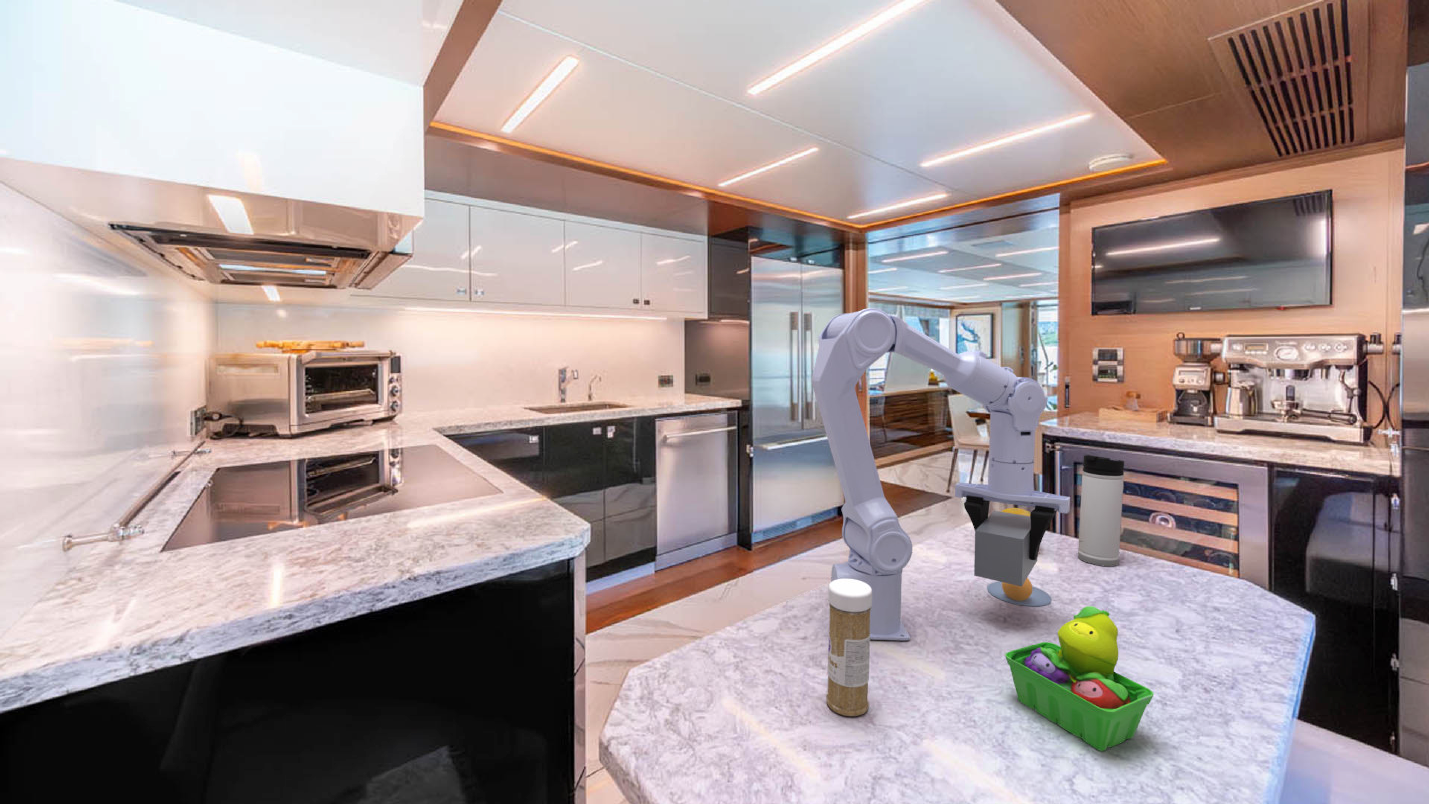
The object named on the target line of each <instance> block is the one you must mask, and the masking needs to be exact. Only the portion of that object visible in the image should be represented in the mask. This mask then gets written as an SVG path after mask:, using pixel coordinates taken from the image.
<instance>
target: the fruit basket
mask: <svg viewBox="0 0 1429 804" xmlns="http://www.w3.org/2000/svg"><path fill="white" fill-rule="evenodd" d="M1110 615H1111V614H1110V612H1108V611H1107V610H1104V609H1103V610H1101V609H1099V608H1098V607H1096V606H1092V605H1087V606H1085V607H1083V608H1082V609H1080V611H1079V612H1078V613H1077V614H1074V615H1073V619H1072V620H1069V621H1067V622H1065V623H1064V624H1063V625H1061V627H1059V629H1058V630H1057V637H1058V641H1059V644H1055V643H1053V642H1049V641H1042V642H1039V643H1035V644H1031V645H1027V646H1023V647H1020V648H1017V649H1013V650H1010V651H1008V652H1005V654H1004V657H1005V658H1006V662H1007V664H1008V666H1009V668H1010V672H1011V676H1012V680H1013V685H1014V687H1015V692H1016V696H1017V700H1018V702H1020V703H1021V704H1023V705H1025V706H1026V707H1028V708H1030V709H1033V710H1034V711H1036V712H1037V713H1038V714H1039V715H1041V716H1043V717H1044V718H1046V719H1047V720H1049V721H1051V722H1053V723H1055V724H1057V725H1059V726H1060V727H1061V728H1063V730H1066V731H1067V732H1068V733H1071V734H1072V735H1073V736H1075V737H1078V738H1080V739H1082V740H1083V741H1084V742H1085V743H1087V744H1088V745H1089V746H1091V747H1093V748H1095V749H1096V750H1097V751H1099V752H1104V751H1106V749H1107V748H1112V747H1115V746H1117V745H1119V744H1121V743H1123V742H1125V740H1129V739H1133V737H1134V736H1135V734H1136V731H1137V729H1138V727H1139V724H1140V722H1141V719H1142V717H1143V714H1144V713H1145V710H1146V708H1147V705H1150V703H1151V701H1152V698H1153V697H1154V691H1152V690H1151V689H1150V688H1149V687H1147V686H1144V685H1142V684H1140V683H1137V681H1136V682H1135V681H1134V680H1132V679H1130V678H1128V677H1127V676H1124V675H1122V674H1120V673H1118V672H1115V669H1116V666H1117V663H1118V660H1119V647H1118V635H1119V629H1118V627H1117V626H1116V624H1115V623H1114V621H1113V620H1112V619H1111V618H1110V617H1109V616H1110Z"/></svg>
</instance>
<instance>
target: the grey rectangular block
mask: <svg viewBox="0 0 1429 804" xmlns="http://www.w3.org/2000/svg"><path fill="white" fill-rule="evenodd" d="M1030 542H1031V519H1030V516H1025V515H1019V514H1012V513H1006V512H1001V511H998V510H993V512H991V513H990V514H989V515H988V518H987V519H986V520H985V521H984V522H983V523H982V524H981V525H980V526H979V527H978V528H977V529H976V530H974V569H973V571H974V572H973V574H974V576H975V577H979V578H982V579H988V580H990V581H991V580H992V581H995V582H1004V583H1008V584H1013V585H1017V586H1021V587H1022V586H1023V584H1024V582H1025V581H1026V579H1027V578H1028V577H1029V575H1030V574H1031V572H1032V570H1033V568H1034V567H1035V566H1036V563H1037V562H1038V557H1039V556H1038V557H1037V558H1036V560H1030V559H1029V550H1030Z"/></svg>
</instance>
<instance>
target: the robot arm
mask: <svg viewBox="0 0 1429 804" xmlns="http://www.w3.org/2000/svg"><path fill="white" fill-rule="evenodd" d="M817 338H818V340H817V341H818V349H817V355H816V359H815V364H814V367H813V371H812V372H813V373H812V376H811V385H812V388H813V392H814V396H815V399H816V403H817V407H818V410H819V413H820V417H821V420H822V424H823V427H824V430H825V431H824V432H825V435H826V438H827V441H828V445H829V448H830V451H831V455H832V458H833V461H834V462H833V463H834V466H835V469H836V470H835V471H836V472H837V476H838V480H839V484H840V486H841V490H842V491H841V492H842V493H843V494H842V495H843V496H844V501H845V502H844V503H843V506H842V507H841V512H842V517H843V524H842V528H841V536H842V540H843V541H844V543H845V545H846V546H847V547H848V549H849V550H848V551H849V553H848V559H847V561H846V562H845V561H844V562H839V563H833V564H832V566H831V574H830V577H831V578H830V583H831V582H832V581H834V580H837V579H855V580H859V581H862V582H864V583H866V584H868V585H869V586H870V587H871V589H872V606H871V610H870V640H876V641H877V640H878V641H879V640H880V641H881V640H883V641H884V640H885V641H909V640H910V639H911V636H910V634H909V633H908V630H906V628H905V626H904V624H903V623H902V620H901V614H902V613H901V611H902V610H901V609H902V579H903V578H902V577H903V576H902V575H903V569H904V568H905V567H906V566H907V565H908V563H909V562H910V560H911V558H912V555H913V544H912V543H913V542H912V540H911V539H912V538H911V537H910V536H909V535H908V533H907V532H906V531H905V530H904V529H903V528H902V526H901V524H900V522H899V518H898V515H897V514H896V512H895V510H894V508H892V506H891V504H890V503H889V501H888V500H887V499H886V497H885V494H884V490H883V485H882V482H881V479H880V475H879V472H878V471H879V470H878V468H877V465H876V461H875V457H874V454H873V450H872V447H871V443H870V439H869V435H868V432H867V428H866V425H865V424H866V423H865V421H864V417H863V413H862V410H861V407H860V403H859V399H858V396H857V393H856V385H857V384H858V383H859V381H860V379H861V378H862V376H863V375H864V374H865V371H866V370H867V369H868V368H870V367H871V366H872V365H873V364H874V363H875V362H877V361H878V360H879V359H881V358H882V357H883V356H884V355H886V353H895V354H899V355H900V356H903V357H905V358H907V359H910V360H912V361H913V362H916V363H918V364H921V365H922V366H924V367H927V368H929V369H931V370H934V371H936V372H938V373H940V374H942V375H944V376H943V377H944V381H945V384H946V386H947V387H948V388H950V389H952V390H954V391H956V392H958V393H959V394H961V395H963V396H966V397H967V398H970V399H972V400H973V401H976V402H977V403H978V404H979V403H980V404H981V405H982V407H983V409H984V410H985V411H986V412H987V413H988V414H990V420H989V442H988V443H989V445H988V446H989V448H988V471H987V472H988V474H987V484H983V483H982V484H981V483H968V482H962V481H961V482H958V483H956V484H955V485H954V497H955V498H960V499H961V498H965V502H964V503H963V507H964V510H965V511H966V512H967V513H966V514H967V515H968V517H969V519H970V522H971V524H972V526H973V527H972V528H973V529H974V531H975V530H976V529H977V528H978V527H979V526H980V525H981V524H982V523H983V522H984V521H985V520H986V519H987V518H988V517H989V512H990V511H989V510H990V503H991V502H994V503H995V502H996V503H1001V504H1008V505H1015V506H1020V507H1021V506H1023V507H1028V508H1034V509H1033V510H1031V511H1030V519H1031V542H1030V550H1029V559H1030V560H1036V558H1037V557H1039V556H1038V555H1039V550H1040V546H1041V543H1042V541H1043V538H1044V536H1045V534H1046V531H1047V530H1048V527H1049V526H1050V524H1051V522H1052V520H1053V518H1054V517H1055V515H1056V514H1057V512H1058V513H1060V514H1069V512H1070V507H1071V497H1070V496H1065V495H1059V494H1053V493H1048V492H1043V491H1039V490H1034V470H1035V468H1034V467H1035V448H1036V446H1035V445H1036V431H1037V428H1038V427H1039V426H1040V425H1039V423H1040V422H1039V421H1040V418H1041V417H1040V416H1041V415H1042V413H1044V411H1045V409H1046V407H1047V404H1048V400H1049V398H1048V397H1047V396H1045V392H1044V389H1043V388H1042V386H1041V384H1040V383H1039V382H1038V381H1037V380H1035V379H1034V378H1031V377H1025V376H1017V375H1016V374H1015V373H1014V371H1015V370H1014V369H1013V368H1011V367H1009V366H1003V367H1002V366H1000V365H998V364H996V363H995V362H993V361H991V360H989V359H987V357H988V354H987V353H985V352H984V351H982V350H974V351H971V350H966V351H963V352H961V353H957V352H955V351H954V350H952V349H950V348H949V347H947V346H945V345H944V344H942V343H940V342H938V341H936V340H935V339H933V338H931V337H929V336H928V335H926V334H925V333H924V332H921V331H920V330H918V329H916V328H914V327H913V326H912V325H910V324H908V323H906V322H905V321H904V320H903V319H902V318H901V317H899V316H895V315H893V314H888V313H887V312H886V311H884V310H883V309H880V308H876V307H869V308H864V309H861V310H859V311H854V312H848V313H847V312H845V313H839V314H837V315H835V316H833V317H832V318H831V319H830V320H829V321H828V322H827V324H826V325H825V327H824V328H823V329H822V331H821V332H820V333H819V335H818V337H817ZM1037 559H1038V558H1037Z"/></svg>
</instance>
